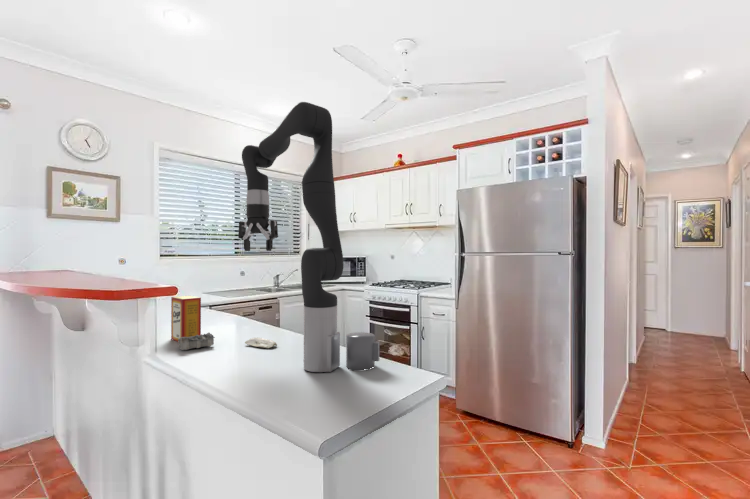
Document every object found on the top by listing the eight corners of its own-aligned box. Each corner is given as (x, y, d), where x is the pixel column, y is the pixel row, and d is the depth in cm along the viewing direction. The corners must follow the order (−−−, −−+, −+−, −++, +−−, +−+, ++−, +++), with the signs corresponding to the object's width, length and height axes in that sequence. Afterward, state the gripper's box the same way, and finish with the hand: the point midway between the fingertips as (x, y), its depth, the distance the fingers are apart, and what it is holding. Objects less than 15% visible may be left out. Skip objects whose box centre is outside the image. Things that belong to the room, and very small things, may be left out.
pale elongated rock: (242, 343, 134) (249, 332, 137) (250, 349, 138) (256, 339, 140) (268, 349, 128) (274, 338, 131) (275, 356, 132) (282, 345, 134)
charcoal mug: (382, 365, 113) (383, 333, 113) (374, 373, 106) (374, 339, 106) (352, 362, 116) (352, 331, 116) (341, 369, 109) (341, 337, 109)
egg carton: (180, 350, 126) (179, 338, 126) (177, 347, 132) (176, 335, 132) (215, 345, 132) (215, 333, 132) (211, 342, 138) (210, 330, 138)
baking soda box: (171, 339, 145) (171, 296, 145) (189, 336, 150) (189, 294, 150) (182, 343, 139) (182, 298, 139) (200, 340, 144) (200, 296, 144)
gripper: (281, 204, 138) (281, 251, 138) (246, 206, 142) (247, 251, 142) (269, 202, 131) (270, 250, 131) (233, 203, 135) (233, 251, 135)
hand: (258, 251), depth 137 cm, fingers open, 8 cm apart
